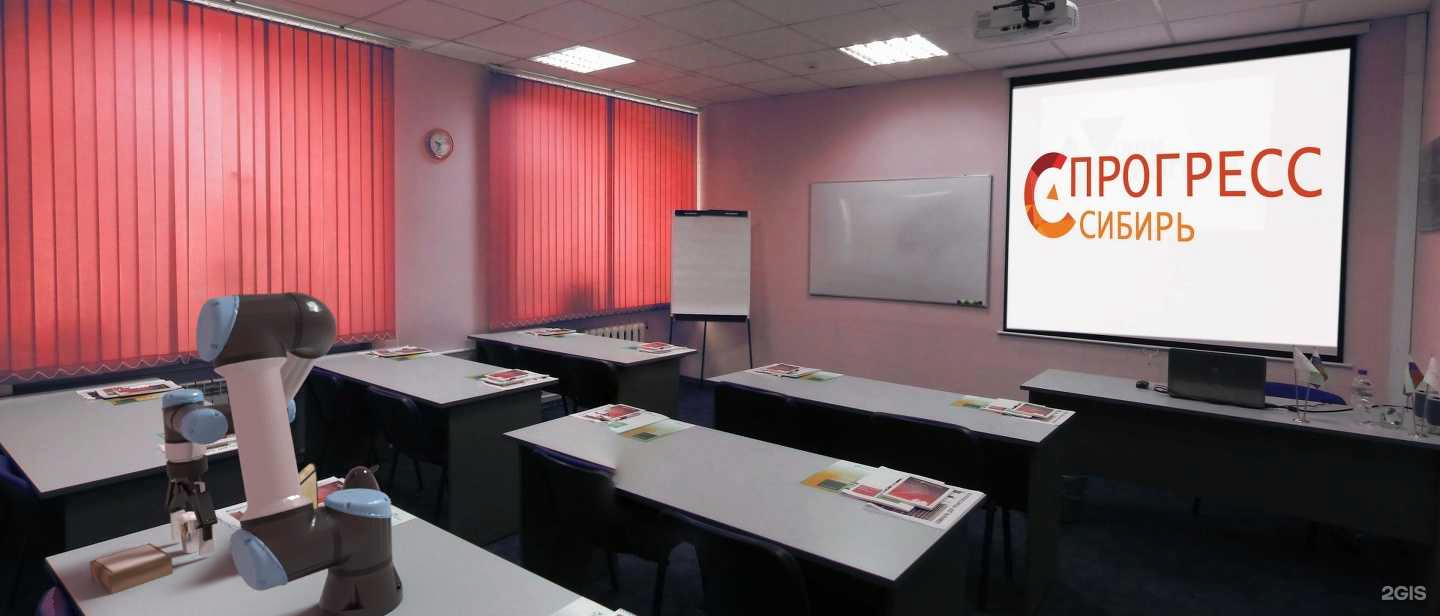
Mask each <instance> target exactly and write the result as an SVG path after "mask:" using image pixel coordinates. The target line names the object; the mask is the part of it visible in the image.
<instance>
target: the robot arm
mask: <svg viewBox="0 0 1440 616" xmlns="http://www.w3.org/2000/svg"><path fill="white" fill-rule="evenodd" d="M337 330H338V328H337V321H336V319H335V316H334V314H333V312H332V311H331V310H330V308H329V307H328V306H327V305H326V304H325V303H324V302H323V301H321V299H319V298H317V297H315V296H313V295H310V294H307V293H304V292H297V291H293V292H292V291H290V292H289V291H288V292H280V293H279V292H276V293H275V292H274V293H251V294H250V293H249V294H247V293H246V294H232V295H227V296H226V295H225V296H217V297H212V298H210V299H208V300H207V301H205V303H204V304H203V305H202V306H201V308H200V311H199V314H198V318H197V322H196V330H195V332H196V333H195V344H196V351H197V353H198V356H199V358H200V360H202V361H204V362H208V363H211V362H212V365H213V370H214V372H215V373H216V374H218V375H219V376H221V377H223V378H224V379H225V382H226V387H227V392H228V398H229V399H228V400H229V401H227V402H220V403H214V404H208V405H207V404H206V405H205V402H206V400H205V398H204V393H203V390H200V389H197V388H186V389H185V388H184V389H183V388H182V389H176V390H170V391H167V392H166V393H165V394H163V395H162V400H161V401H162V402H161V404H162V405H161V411H162V419H163V432H164V433H163V434H164V454H165V455H164V456H165V459H166V463H165V464H166V475H167V477H168V486H167V489H166V490H167V492H166V496H165V503H164V508H166V509H168V512H169V516H170V528H171V540H172V541H177V540H181V536H180V531H179V527H178V522H177V519H178V517H179V516H180V515H181V514H183V513H186V510H185V509H186V508H187V506H186V503H190V506H191V508H192V510H193V511H192V512H194V514H195V516H196V519H197V521H198V524H199V525H198V526H197V527H196V529H197V531H198V546H199V550H198V555H199V556H204V555H206V554H210V553H213V552H215V543H214V542H215V541H214V529H213V528H214V527H213V526H214V525H217V524H218V517H217V514H216V511H215V506H214V504H213V499H212V496H211V492H210V485H209V481H208V480H206V481H202V479H201V476H202V475H203V474H204V473H206V472H207V471H208V470H209V465H208V464H209V463H208V456H207V454H206V453H208V452H207V445H210V444H215V443H217V442H219V441H220V440H221V439H222V438H224V437H228V436H235V439H236V446H237V451H238V456H239V457H238V459H239V462H240V463H239V464H240V469H241V475H242V480H243V486H244V494H245V498H246V504H247V508H246V509H245V511H244V512H243V514H242V515H241V516H240V517H239V525H240V528H239V529H237V530H235V531H233V533H232V534H231V535H230V540H229V541H230V544H229V545H230V553H231V555H232V559H233V563H234V565H235V567H236V568H235V569H236V570H237V572H238V574H239V576H240V577H241V578H242V580H243V581H244V582H245V584H246V585H247V586H248V587H249V588H250V589H253V590H255V591H259V592H260V591H262V592H263V591H266V590H269V589H274V588H276V587H280V586H281V587H282V586H286V585H287V584H288V583H291V582H294V581H297V580H299V579H302V578H305V577H308V576H311V575H313V574H317V573H319V572H322V571H326V570H327V575H326V578H325V581H324V585H323V588H322V592H321V595H320V598H319V600H318V601H319V602H318V606H319V616H385V615H386V614H388V613H390V612H391V611H392V610H394V609H395V608H397V607H398V606H399V605H400V603H402V601H403V598H404V585H403V582H402V580H401V578H400V575H399V573H398V571H397V568H396V566H395V563H394V562H393V531H392V530H393V529H392V527H393V526H392V524H393V523H392V517H393V513H392V507H391V500H390V498H389V496H388V495H387V494H386V493H385V492H382V491H381V490H380V491H377V490H372V489H346V490H341V489H340V490H335V491H333V492H331V493H330V492H329V494H327V495H326V496H325V498H324V501H323V506H318V508H316V509H314V506H313V501H312V500H311V499H309V498H308V497H306V496H304V495H303V494H302V493H301V487H300V481H299V476H298V474H299V471H298V466H297V459H296V454H295V447H294V441H293V436H292V432H291V426H290V424H291V423H292V422H293V421H294V420H295V417H296V413H297V411H296V402H295V400H294V397H296V394H297V393H298V391H299V390H300V388H301V387H302V385H303V383H304V382H305V380H306V379H307V377H308V375H309V374H310V372H311V371H312V369H313V367H314V366H315V364H316V363H317V361H318V360H319V359H321V358H323V357H324V356H326V355H327V354H328V353H329V351H330V350H331V348H332V347H333V345H334V343H335V341H336V338H337V333H338V331H337Z"/></svg>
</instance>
